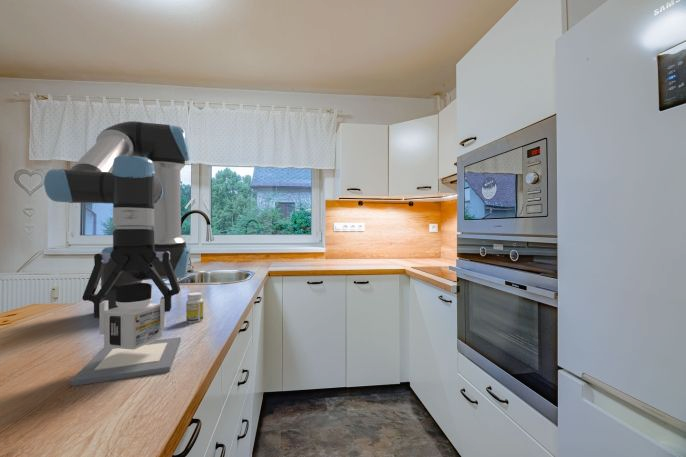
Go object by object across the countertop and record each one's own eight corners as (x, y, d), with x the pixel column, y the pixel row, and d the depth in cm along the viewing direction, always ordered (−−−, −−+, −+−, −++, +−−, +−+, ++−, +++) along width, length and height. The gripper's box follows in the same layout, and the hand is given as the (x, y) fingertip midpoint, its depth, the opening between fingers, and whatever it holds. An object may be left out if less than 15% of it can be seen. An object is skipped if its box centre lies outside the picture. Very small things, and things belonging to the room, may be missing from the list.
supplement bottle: (198, 317, 100) (198, 291, 100) (206, 320, 98) (206, 293, 98) (183, 321, 97) (183, 294, 96) (191, 323, 94) (191, 296, 94)
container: (134, 350, 64) (134, 286, 64) (103, 347, 65) (102, 285, 65) (163, 337, 71) (163, 280, 71) (134, 335, 73) (134, 279, 73)
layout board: (104, 350, 74) (104, 345, 74) (180, 341, 80) (180, 336, 80) (70, 386, 57) (70, 379, 57) (169, 371, 63) (169, 365, 63)
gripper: (60, 228, 61) (60, 342, 61) (190, 228, 69) (190, 328, 69) (76, 228, 67) (77, 330, 68) (193, 228, 76) (193, 318, 76)
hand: (134, 329), depth 68 cm, fingers closed on container, 10 cm apart
